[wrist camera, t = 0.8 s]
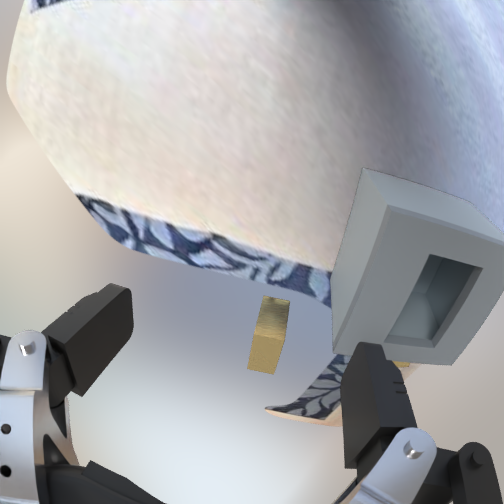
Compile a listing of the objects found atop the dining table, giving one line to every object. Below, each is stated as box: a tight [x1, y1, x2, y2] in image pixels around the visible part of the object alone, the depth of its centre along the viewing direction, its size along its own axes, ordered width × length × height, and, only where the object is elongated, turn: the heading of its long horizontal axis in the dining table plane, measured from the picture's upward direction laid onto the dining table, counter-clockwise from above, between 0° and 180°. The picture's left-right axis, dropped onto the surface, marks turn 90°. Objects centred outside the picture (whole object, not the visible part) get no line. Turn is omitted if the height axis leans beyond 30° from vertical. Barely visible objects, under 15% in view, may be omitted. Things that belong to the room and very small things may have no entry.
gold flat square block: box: [247, 296, 290, 374], centre depth 31 cm, size 6×3×6 cm, turn 173°
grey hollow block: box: [330, 168, 504, 365], centre depth 21 cm, size 12×12×10 cm
